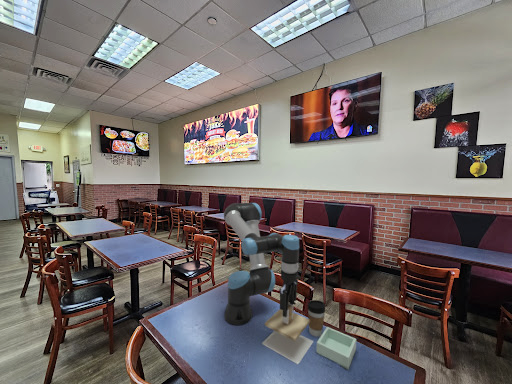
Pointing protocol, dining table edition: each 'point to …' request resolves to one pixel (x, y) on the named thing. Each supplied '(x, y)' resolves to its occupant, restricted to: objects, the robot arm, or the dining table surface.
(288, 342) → the mat
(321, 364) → the dining table surface
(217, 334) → the dining table surface
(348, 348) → the dish
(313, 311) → the coffee cup
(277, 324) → the lid
